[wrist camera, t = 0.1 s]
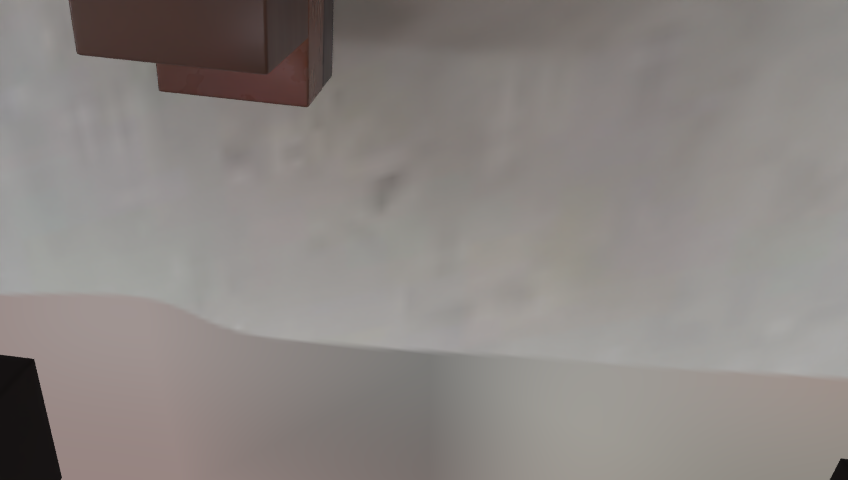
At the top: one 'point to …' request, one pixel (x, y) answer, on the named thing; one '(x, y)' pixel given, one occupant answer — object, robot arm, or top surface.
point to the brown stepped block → (216, 44)
